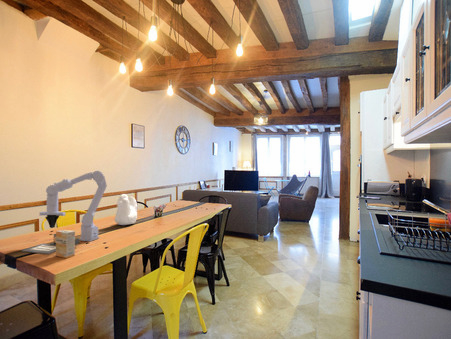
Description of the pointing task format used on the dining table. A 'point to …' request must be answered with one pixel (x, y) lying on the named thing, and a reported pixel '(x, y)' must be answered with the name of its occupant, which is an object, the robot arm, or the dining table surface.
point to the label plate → (41, 249)
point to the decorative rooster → (126, 210)
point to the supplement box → (65, 243)
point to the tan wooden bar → (75, 240)
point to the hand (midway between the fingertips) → (52, 227)
